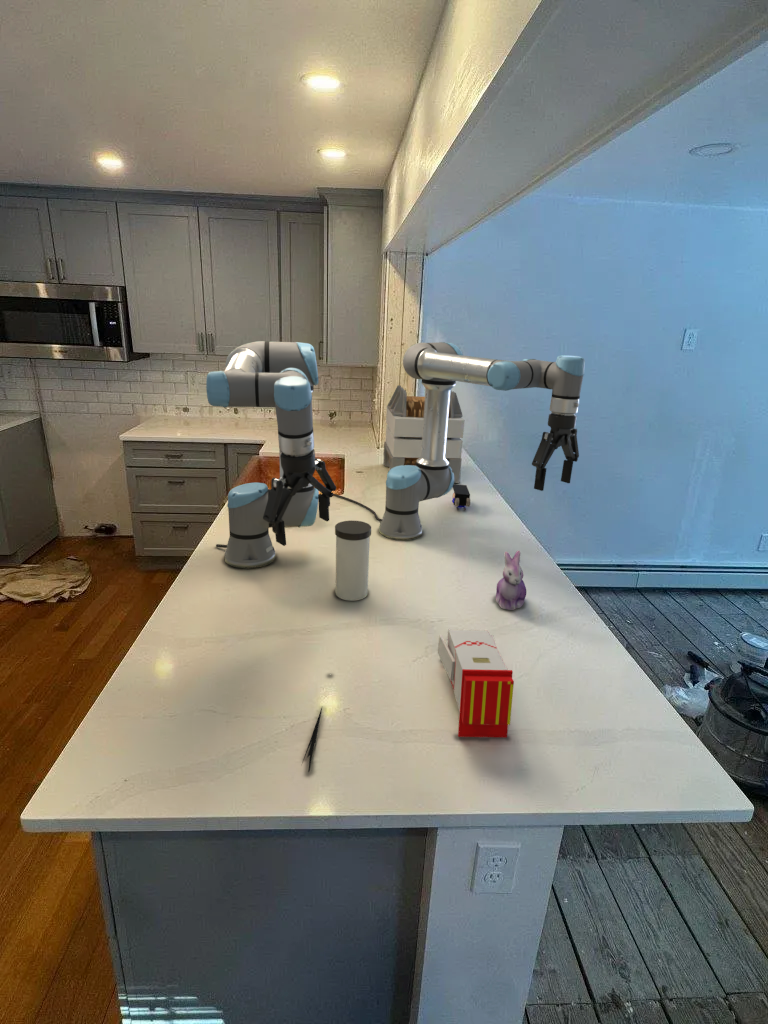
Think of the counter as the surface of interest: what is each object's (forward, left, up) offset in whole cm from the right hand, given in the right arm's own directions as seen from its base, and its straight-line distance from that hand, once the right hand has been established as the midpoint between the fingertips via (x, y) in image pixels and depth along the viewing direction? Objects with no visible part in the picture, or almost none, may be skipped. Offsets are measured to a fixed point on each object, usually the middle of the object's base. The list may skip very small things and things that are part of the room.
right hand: (552, 485), depth 166 cm
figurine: (+7, -23, -28) cm, 37 cm away
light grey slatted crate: (-101, +46, -28) cm, 115 cm away
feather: (+14, -91, -28) cm, 96 cm away
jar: (-24, -55, -28) cm, 66 cm away
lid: (-24, -55, -9) cm, 60 cm away
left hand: (-19, -74, -4) cm, 76 cm away
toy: (+26, -62, -28) cm, 72 cm away
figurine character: (-56, +26, -28) cm, 68 cm away
